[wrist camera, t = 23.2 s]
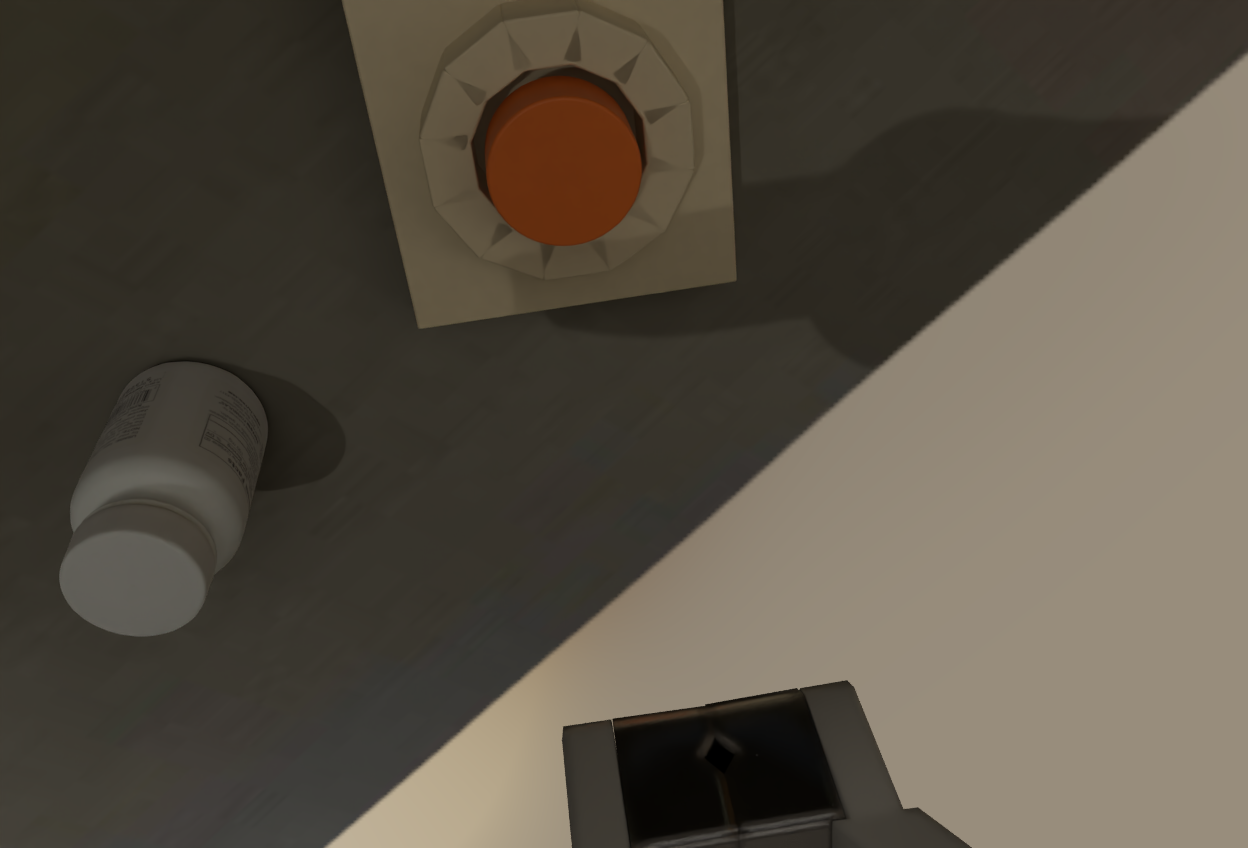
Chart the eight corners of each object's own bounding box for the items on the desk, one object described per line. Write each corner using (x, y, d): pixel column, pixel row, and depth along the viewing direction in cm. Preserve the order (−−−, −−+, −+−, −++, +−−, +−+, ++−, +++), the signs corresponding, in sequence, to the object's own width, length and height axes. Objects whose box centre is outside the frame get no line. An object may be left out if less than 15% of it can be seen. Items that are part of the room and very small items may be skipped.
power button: (639, 208, 28) (649, 236, 26) (497, 228, 28) (499, 257, 26) (624, 64, 26) (635, 85, 24) (472, 85, 26) (473, 108, 24)
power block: (721, 250, 33) (751, 310, 29) (420, 295, 32) (416, 362, 29) (700, -120, 27) (735, -97, 24) (336, -73, 27) (319, -42, 23)
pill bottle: (116, 468, 34) (38, 644, 28) (119, 345, 32) (34, 506, 25) (264, 486, 35) (221, 660, 29) (276, 368, 33) (232, 528, 26)
